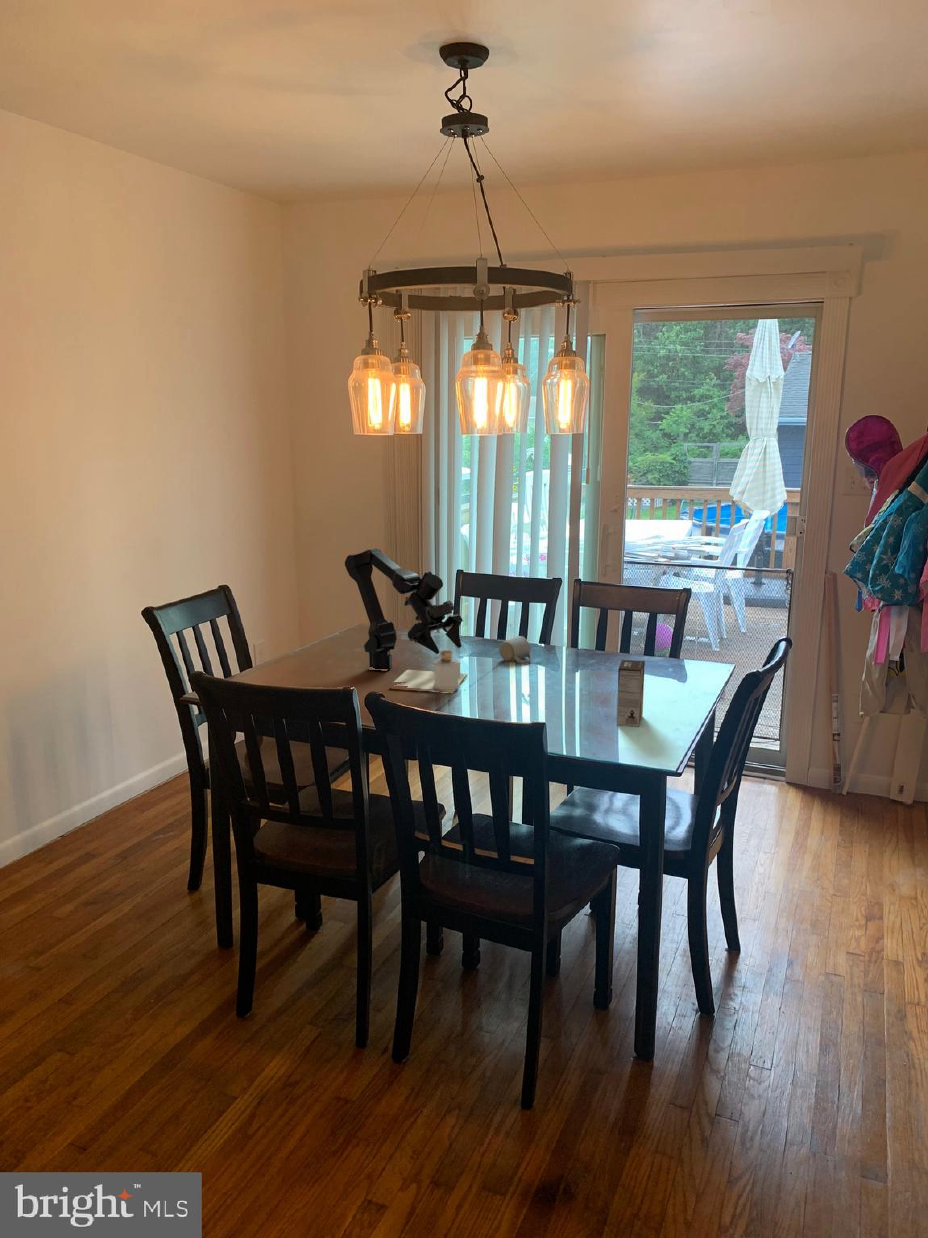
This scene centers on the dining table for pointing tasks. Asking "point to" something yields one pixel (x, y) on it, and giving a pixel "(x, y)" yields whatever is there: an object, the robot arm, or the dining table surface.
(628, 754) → the dining table surface
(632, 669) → the coffee box
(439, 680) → the white faceted container
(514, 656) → the ceramic mug
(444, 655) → the plunger
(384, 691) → the dining table surface
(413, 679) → the birch board
